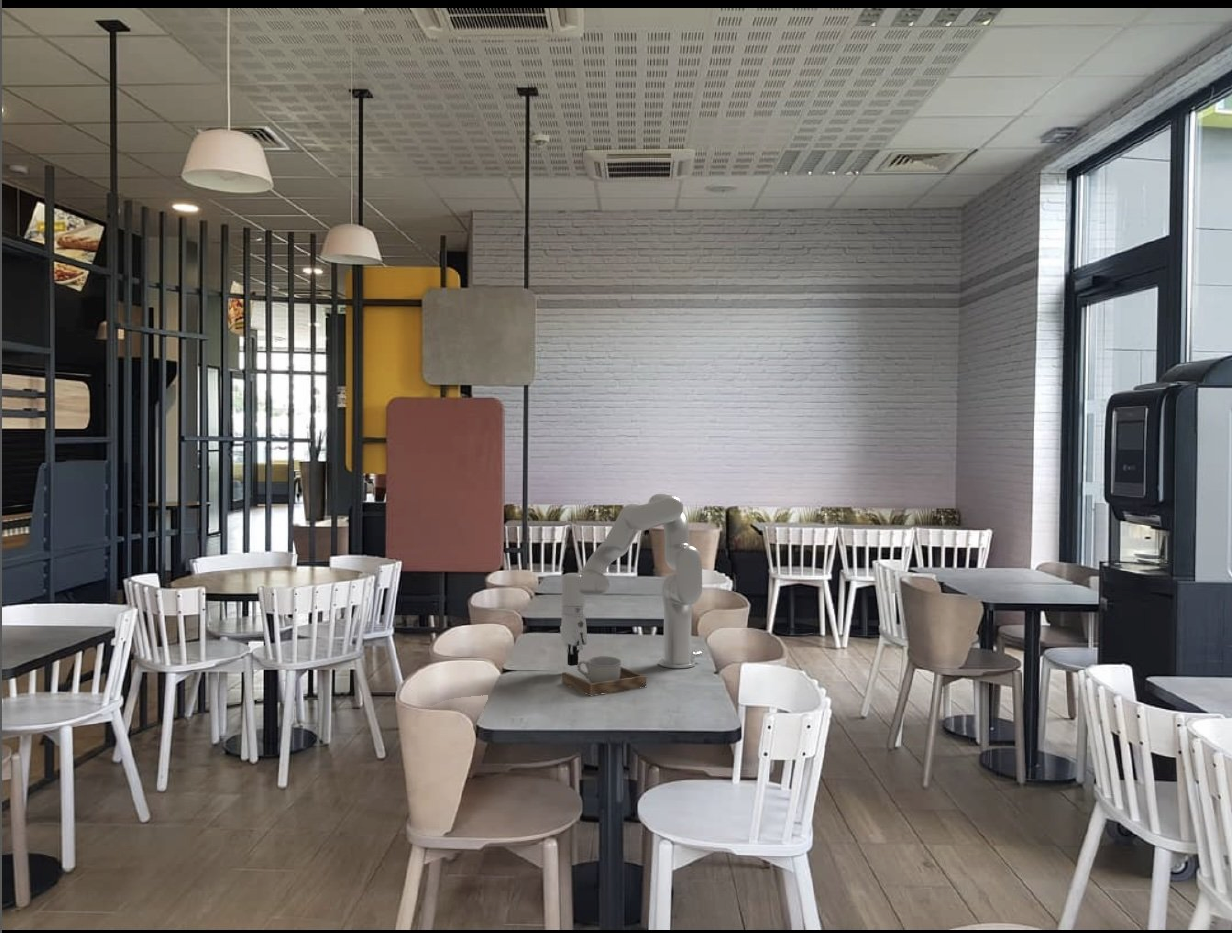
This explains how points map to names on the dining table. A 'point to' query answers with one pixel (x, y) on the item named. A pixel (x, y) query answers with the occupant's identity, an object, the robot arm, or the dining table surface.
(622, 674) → the corral
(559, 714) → the dining table surface
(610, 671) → the teacup
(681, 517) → the robot arm
